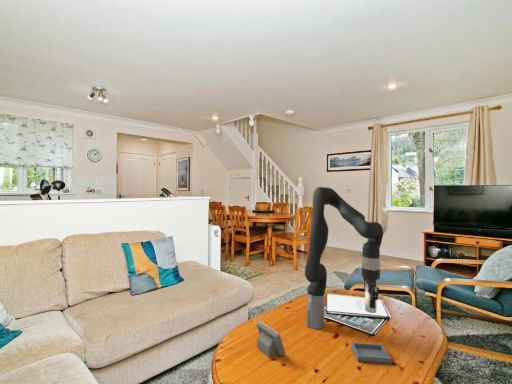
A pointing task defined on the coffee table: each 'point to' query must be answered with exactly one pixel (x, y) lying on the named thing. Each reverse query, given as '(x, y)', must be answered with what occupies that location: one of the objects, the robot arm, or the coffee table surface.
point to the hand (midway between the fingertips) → (370, 305)
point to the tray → (370, 353)
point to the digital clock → (269, 340)
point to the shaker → (367, 302)
